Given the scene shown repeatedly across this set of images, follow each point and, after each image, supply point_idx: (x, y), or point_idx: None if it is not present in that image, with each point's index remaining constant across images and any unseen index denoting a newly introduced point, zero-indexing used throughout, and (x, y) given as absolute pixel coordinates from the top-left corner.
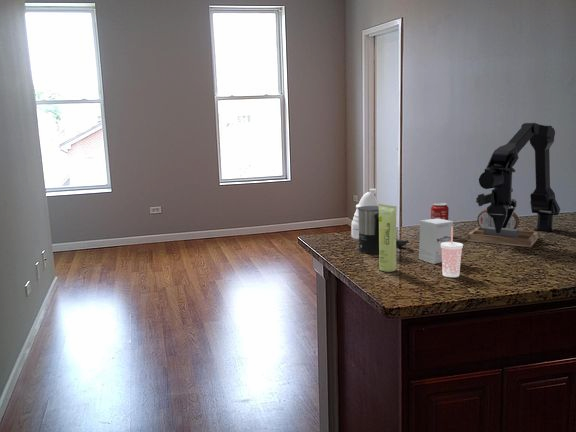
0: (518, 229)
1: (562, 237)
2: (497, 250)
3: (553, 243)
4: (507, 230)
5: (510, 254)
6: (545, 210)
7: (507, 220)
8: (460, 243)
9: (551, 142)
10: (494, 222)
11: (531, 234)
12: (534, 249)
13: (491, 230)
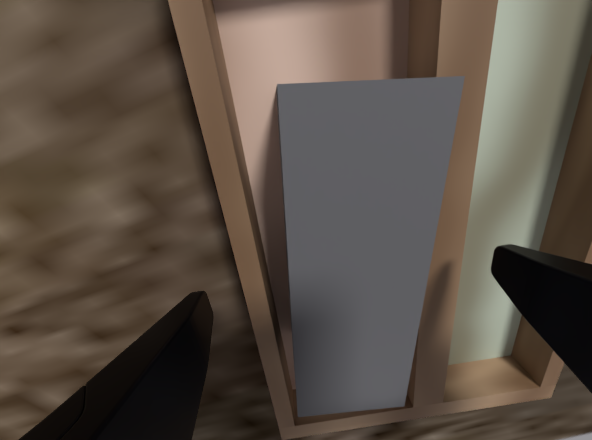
0: (402, 403)
1: (578, 414)
2: (50, 303)
3: (423, 427)
4: (305, 361)
5: (26, 384)
6: None
7: (581, 362)
8: None
9: None
10: (51, 423)
11: (528, 356)
12: (239, 417)
13: (284, 203)
